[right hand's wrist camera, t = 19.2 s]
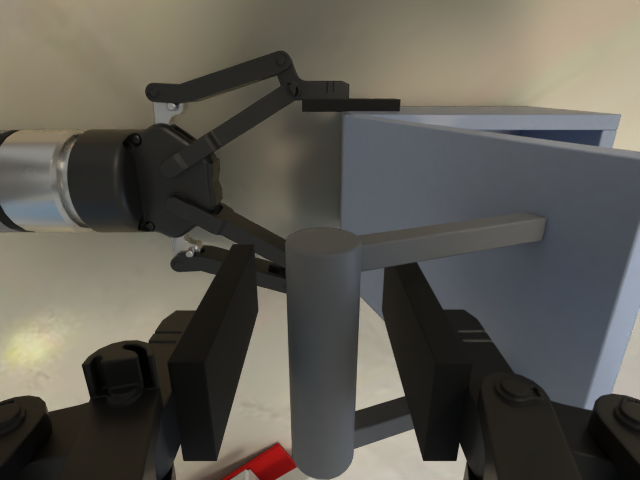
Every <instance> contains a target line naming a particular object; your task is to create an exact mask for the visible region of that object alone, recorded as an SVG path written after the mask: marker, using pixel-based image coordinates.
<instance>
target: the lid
mask: <svg viewBox="0 0 640 480" xmlns="http://www.w3.org/2000/svg"><path fill="white" fill-rule="evenodd" d="M285 260H286V289H287V318H288V348H289V377H290V406H291V436H292V457H293V460H294V462H295V464H296V466H297V467H298V469H299V470H300V471H301V472H302V473H304V474H305V475H307V476H309V477H311V478H314V479H320V480H326V479H332V478H335V477H337V476H339V475H341V474H342V473H343V472H345V471H346V470H347V468H348V467H349V466H350V464H351V462H352V459H353V453H354V449H355V448H358V447H361V446H364V445H367V444H370V443H373V442H376V441H379V440H382V439H385V438H388V437H391V436H394V435H397V434H400V433H403V432H405V431H408V430H411V429H414V426H413V422H412V418H411V415H410V411H409V407H408V404H407V400H406V397H405V396H404V397H401V398H397V399H394V400H391V401H388V402H384V403H381V404H378V405H374V406H371V407H368V408H365V409H361V410H358V411H355V403H356V379H357V354H358V329H359V304H360V297H361V298H362V299H363V300H364V301H365V302H366V303H367V304H368V305H369V306H370V307H371V308H372V309H373V310H374V311H375V312H376V313H377V314H378V315H379V316H380V317H381V318H382V319H383V320H384V317H383V314H382V297H383V282H384V268H386V267H392V266H398V265H403V264H409V263H415V262H417V263H418V265H419V267H420V269H421V270H422V272H423V274H424V276H425V278H426V279H427V281H428V283H429V285H430V287H431V288H432V290H433V292H434V294H435V296H436V297H437V299H438V301H439V303H440V305H441V306H442V308H443V309H464V310H465V311H467V312H468V313H470V314H471V315H473V316H474V317H475V318H477V319H478V320H479V322H480V323H481V325H482V326H483V328H484V329H485V333H487V334H488V335H489V337H490V338H491V340H492V342H494V344H495V345H496V347H497V348H498V350H499V351H500V353H501V354H502V356H503V357H504V359H505V360H506V362H507V363H508V364H509V366H510V367H511V369H512V370H513V372H514V373H515V374H519V375H522V376H524V377H526V378H528V379H530V380H532V381H534V382H535V383H537V384H538V385H539V386H540V387H542V388H543V389H544V391H545V392H546V393H547V395H548V396H549V398H550V400H551V401H554V402H558V403H561V404H565V405H570V406H574V407H579V408H583V409H588V410H593V406H594V403H595V401H596V400H597V399H598V398H599V397H600V396H602V395H608V394H611V393H612V390H613V387H614V384H615V381H616V378H617V375H618V372H619V369H620V366H621V363H622V360H623V357H624V354H625V350H626V347H627V344H628V341H629V338H630V335H631V332H632V329H633V326H634V323H635V320H636V317H637V314H638V311H639V308H640V152H637V151H629V150H622V149H614V148H606V147H599V146H591V145H584V144H576V143H568V142H561V141H553V140H546V139H538V138H530V137H523V136H515V135H508V134H500V133H492V132H485V131H477V130H470V129H462V128H455V127H447V126H439V125H432V124H424V123H417V122H409V121H401V120H394V119H386V118H379V117H371V116H363V115H345V116H344V144H343V192H342V230H341V229H336V228H311V229H305V230H301V231H298V232H295V233H293V234H291V235H290V236H288V238H287V239H286V242H285Z"/></svg>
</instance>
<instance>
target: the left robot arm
mask: <svg viewBox="0 0 640 480" xmlns="http://www.w3.org/2000/svg"><path fill="white" fill-rule="evenodd" d="M274 76H278V79H279V82H280V84H281V87H279V88H278V89H276V90H274V91H273V92H271V93H270V94H268V95H267V96H265V97H264V98H262V99H260V100H259V101H257V102H256V103H254V104H253V105H251V106H250V107H248V108H247V109H245V110H243V111H242V112H240V113H239V114H237V115H236V116H234V117H233V118H231V119H230V120H228V121H226V122H225V123H223V124H222V125H220V126H219V127H217V128H216V129H214V130H213V131H211V132H209V133H207V134H206V135H204V136H203V137H201V138H199V139H198V140H197V139H195V138H194V137H192V136H191V135H189V134H188V133H187V132H185V131H184V130H182V129H181V128H179V127H178V126H176V125H175V124H173V121H174V118H175V117H176V116H177V115H179V114H183V113H185V112H186V110H187V103H188V102H196V101H201V100H204V99H207V98H210V97H213V96H216V95H219V94H222V93H225V92H228V91H231V90H234V89H237V88H240V87H243V86H246V85H250V84H253V83H256V82H259V81H262V80H265V79H268V78H271V77H274ZM145 93H146V96H147V98H148V99H149V100H151V101H152V102H153V108H154V120H155V124H154V125H152V126H151V127H149V128H147V129H142V130H88V131H86V132H83V131H81V130H12V131H0V232H90V231H93V230H94V231H97V232H159V233H162V234H164V235H166V236H168V237H171V240H172V245H173V250H174V255H175V257H174V258H173V259H172V261H171V267H172V269H173V270H175V271H177V272H188V271H203V272H207V273H211V274H215V275H216V274H217V272H218V270H219V269H220V267H221V265H222V263H223V261H224V260H225V258H226V256H227V254H228V252H229V251H230V250H226V249H222V248H219V247H214V246H207V245H202V243H201V241H199V240H194V239H192V238H190V237H189V236H188V234H187V233H188V232H189V231H191V230H192V229H193V228H195V227H196V226H199V227H201V228H203V229H205V230H207V231H209V232H211V233H213V234H216V235H222V236H224V237H226V238H228V239H230V240H232V241H234V242H236V243H238V244H254V250H255V253H257V254H259V255H261V256H262V257H264V258H266V259H268V260H270V261H272V262H270V261H266V260H263V259H259V258H255V266H256V282H257V286H260V287H264V288H268V289H271V290H275V291H279V292H283V293H287V289H286V260H285V242H286V240H285V239H283V238H281V237H279V236H278V235H276V234H274V233H272V232H270V231H268V230H266V229H265V228H263V227H261V226H259V225H257V224H255V223H254V222H252V221H250V220H248V219H246V218H244V217H242V216H241V215H239V214H237V213H235V212H234V211H233V209H231V208H230V207H228V206H227V205H225V204H223V203H221V200H222V199H223V196H222V188H221V185H220V183H219V180H218V177H219V172H220V163H219V159H217V158H216V156H215V154H214V151H216V150H218V149H219V148H221V147H222V146H224V145H226V144H227V143H229V142H230V141H232V140H233V139H235V138H236V137H238V136H240V135H241V134H243V133H244V132H246V131H248V130H249V129H251V128H252V127H254V126H255V125H257V124H259V123H260V122H262V121H263V120H265V119H266V118H268V117H270V116H271V115H273V114H274V113H276V112H278V111H279V110H281V109H282V108H284V107H285V106H287V105H289V104H290V103H292V102H293V101H295V100H302V112H348V111H400V100H399V99H349V84H347V83H345V82H343V81H304V80H301V79H300V78H299V77H298V75H297V73H296V70H295V67H294V65H293V62H292V59H291V57H290V56H289V55H288V54H287V53H286V52H284V51H277V52H274V53H271V54H268V55H265V56H262V57H259V58H256V59H253V60H250V61H248V62H245V63H242V64H239V65H236V66H233V67H230V68H227V69H224V70H221V71H218V72H215V73H212V74H209V75H206V76H203V77H200V78H197V79H194V80H191V81H188V82H185V83H182V84H168V83H150V84H149V85H147V87H146V90H145Z"/></svg>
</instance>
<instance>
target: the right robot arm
mask: <svg viewBox="0 0 640 480" xmlns="http://www.w3.org/2000/svg"><path fill="white" fill-rule="evenodd" d="M257 314H258V297H257V282H256V266H255V250H254V244H233V245H232V247H231V249H230V251H229V252H228V254H227V256H226V258H225V260H224V261H223V263H222V265H221V267H220V269H219V270H218V272H217V274H216V276H215V278H214V279H213V281H212V283H211V285H210V287H209V288H208V290H207V292H206V294H205V296H204V297H203V299H202V301H201V303H200V305H199V306H198V308H197V310H196V311H175V312H174V313H172V314H171V315H169V316H168V317H167V318H165V319H164V320H163V321H162V322H161V324H160V325H159V326H158V328H157V329H156V331H155V334H153V335H152V337H151V338H150V340H149V343H146V342H142V341H138V340H133V341H122V342H117V343H113V344H110V345H108V346H105V347H103V348H101V349H99V350H97V351H96V352H94V353H93V354H92V355H90V356H89V357H88V358H87V359H86V360H85V362H84V363H83V364H82V368H83V372H84V375H85V379H86V383H87V387H88V391H89V395H90V401H89V402H88V403H85V404H81V405H78V406H73V407H69V408H64V409H60V410H55V411H51V412H48V410H47V406H46V403H45V402H44V401H43V400H42V399H41V398H40V397H35V396H29V395H28V396H21V397H14V398H11V399H7V400H4V401H2V402H0V480H176V475H175V468H174V459H175V457H176V454H177V452H178V449H179V446H180V444H181V448H182V454H183V460H184V461H217V458H218V454H219V451H220V447H221V444H222V440H223V436H224V433H225V429H226V426H227V422H228V418H229V415H230V411H231V407H232V404H233V400H234V397H235V393H236V389H237V386H238V382H239V379H240V375H241V371H242V368H243V364H244V361H245V357H246V353H247V350H248V346H249V342H250V339H251V335H252V332H253V328H254V324H255V321H256V317H257ZM382 314H383V317H384V321H385V324H386V328H387V332H388V335H389V339H390V342H391V346H392V350H393V353H394V357H395V361H396V364H397V368H398V371H399V375H400V379H401V382H402V386H403V389H404V393H405V397H406V400H407V404H408V407H409V411H410V415H411V418H412V422H413V426H414V429H415V433H416V436H417V440H418V444H419V447H420V451H421V454H422V458H423V461H456V460H457V454H458V448H459V442H460V444H461V447H462V450H463V452H464V455H465V457H466V460H467V462H466V468H465V473H464V479H463V480H640V400H638V399H636V398H632V397H629V396H626V395H618V394H608V395H602V396H600V397H599V398H598V399H597V400H596V401H595V403H594V406H593V410H588V409H583V408H579V407H574V406H570V405H565V404H561V403H558V402H554V401H551V400H550V398H549V396H548V395H547V393H546V392H545V391H544V389H543V388H542V387H540V386H539V385H538V384H537V383H535V382H534V381H532V380H530V379H528V378H526V377H524V376H522V375H519V374H515V373H514V372H513V370H512V369H511V367H510V366H509V364H508V363H507V362H506V360H505V359H504V357H503V356H502V354H501V353H500V351H499V350H498V348H497V347H496V345H495V344H494V342H492V340H491V338H490V337H489V335H488V334H487V333H485V329H484V328H483V326H482V325H481V323H480V322H479V320H478V319H477V318H475V317H474V316H473V315H471V314H470V313H468V312H467V311H465V310H464V309H443V308H442V306H441V305H440V303H439V301H438V299H437V297H436V296H435V294H434V292H433V290H432V288H431V287H430V285H429V283H428V281H427V279H426V278H425V276H424V274H423V272H422V270H421V269H420V267H419V265H418V263H417V262H415V263H409V264H403V265H398V266H392V267H386V268H384V282H383V297H382Z"/></svg>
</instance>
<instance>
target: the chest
mask: <svg viewBox="0 0 640 480" xmlns="http://www.w3.org/2000/svg"><path fill="white" fill-rule="evenodd" d="M345 115H363V116H371V117H379V118H386V119H394V120H401V121H409V122H417V123H424V124H432V125H439V126H447V127H455V128H462V129H470V130H477V131H485V132H492V133H500V134H508V135H515V136H523V137H530V138H538V139H546V140H553V141H561V142H568V143H576V144H584V145H591V146H599V147H606V148H612V147H613V143H614V139H615V136H616V130H617V129H618V125H619V121H620V117H621V115H620V114H609V113H598V112H586V111H575V110H564V109H552V108H541V107H530V106H400V111H348V112H342V147H341V200H340V223H341V230H342V192H343V144H344V116H345Z"/></svg>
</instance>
